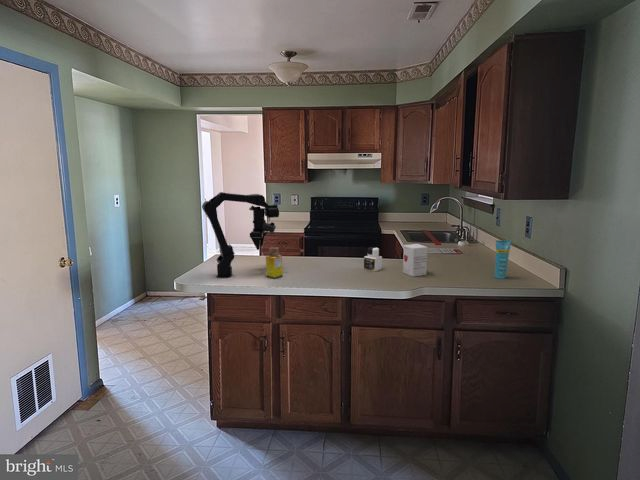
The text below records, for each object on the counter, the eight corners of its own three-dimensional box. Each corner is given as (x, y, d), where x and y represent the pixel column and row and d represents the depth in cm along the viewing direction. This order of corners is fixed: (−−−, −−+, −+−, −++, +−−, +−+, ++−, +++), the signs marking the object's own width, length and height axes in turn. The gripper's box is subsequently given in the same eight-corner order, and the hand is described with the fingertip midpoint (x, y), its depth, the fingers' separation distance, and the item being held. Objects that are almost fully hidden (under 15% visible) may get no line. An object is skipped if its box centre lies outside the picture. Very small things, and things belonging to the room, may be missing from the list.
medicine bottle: (363, 269, 223) (363, 247, 221) (371, 266, 228) (371, 245, 226) (374, 271, 218) (374, 249, 216) (382, 269, 223) (382, 247, 221)
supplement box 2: (402, 272, 216) (403, 244, 214) (416, 270, 220) (417, 243, 217) (412, 277, 208) (413, 248, 205) (426, 275, 212) (428, 246, 209)
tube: (495, 279, 204) (498, 241, 200) (490, 276, 209) (493, 239, 205) (509, 278, 204) (513, 241, 201) (505, 276, 209) (508, 239, 205)
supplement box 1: (274, 274, 214) (274, 253, 212) (282, 276, 210) (282, 255, 208) (266, 276, 209) (265, 256, 207) (274, 279, 206) (273, 257, 203)
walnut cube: (269, 256, 206) (269, 248, 205) (270, 254, 210) (270, 247, 209) (277, 256, 206) (277, 249, 205) (278, 255, 209) (278, 247, 209)
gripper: (271, 221, 204) (271, 251, 207) (277, 216, 222) (277, 244, 225) (248, 221, 205) (250, 251, 208) (256, 216, 223) (257, 244, 226)
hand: (259, 247), depth 217 cm, fingers open, 9 cm apart
